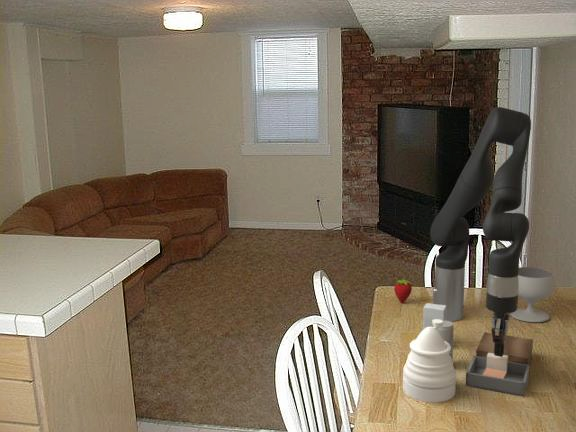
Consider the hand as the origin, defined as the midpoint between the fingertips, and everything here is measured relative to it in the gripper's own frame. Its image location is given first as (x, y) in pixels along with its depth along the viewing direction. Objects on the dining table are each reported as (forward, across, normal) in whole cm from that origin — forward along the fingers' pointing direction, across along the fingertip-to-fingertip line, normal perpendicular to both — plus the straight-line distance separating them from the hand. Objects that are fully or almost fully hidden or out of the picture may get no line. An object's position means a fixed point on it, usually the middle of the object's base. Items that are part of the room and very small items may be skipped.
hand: (498, 355), depth 159 cm
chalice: (+7, -48, +3) cm, 49 cm away
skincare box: (+7, -14, -20) cm, 25 cm away
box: (+7, +2, 0) cm, 7 cm away
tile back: (+4, -3, 0) cm, 5 cm away
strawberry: (+7, -44, -38) cm, 59 cm away
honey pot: (+7, +13, -15) cm, 21 cm away
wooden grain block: (+7, -11, 0) cm, 13 cm away
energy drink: (+7, -2, -15) cm, 17 cm away
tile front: (+4, +4, 0) cm, 5 cm away
